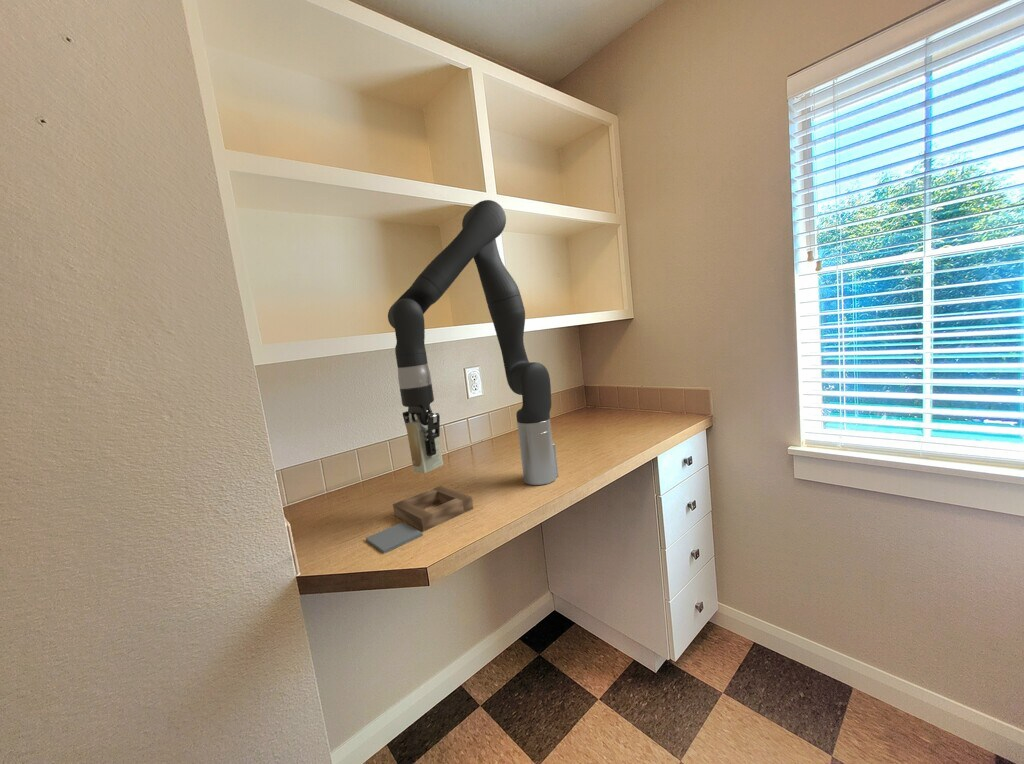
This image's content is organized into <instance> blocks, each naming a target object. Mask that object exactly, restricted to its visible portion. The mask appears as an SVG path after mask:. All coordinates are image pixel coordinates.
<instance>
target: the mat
mask: <svg viewBox="0 0 1024 764" xmlns="http://www.w3.org/2000/svg"><path fill="white" fill-rule="evenodd" d="M423 536H424V533H423V531H421V530H420V529H418V528H416V527H414V526H412V525H410V524H409V523H407V522H405V521H402V522H400V523H397V524H395V525H393V526H391V527H388V528H386V529H383V530H381V531H377V532H376V533H374V534H372V535H368V536H367V537H365V541H366V542H368V543H369V544H371V545H372V546H373V547H374V548H375V549H377V550H379V551H380V552H381V553H382V554H386V553H388V552H390V551H392V550H394V549H397V548H399V547H400V546H403V545H405V544H407V543H410V542H412V541H414V540H415V539H418V538H420V537H423Z"/></svg>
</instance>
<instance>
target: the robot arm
mask: <svg viewBox="0 0 1024 764" xmlns="http://www.w3.org/2000/svg"><path fill="white" fill-rule="evenodd" d="M506 222H507V216H506V212H505V210H504V208H503V206H502V205H500V204H499V203H498V202H497V201H494V200H491V199H485V200H481V201H479V202H478V203H477V202H476V203H475V204H474V205H473V206H472V207H471V208H470V209H468V210H467V212H466V213H465V214H464V216H463V218H462V223H461V224H462V225H461V226H462V229H461V230H460V231H459V233H458V234H457V236H456V237H454V239H452V241H450V243H449V244H448V245H447V246H446V247H445V248H444V249H442V251H440V252H439V253H438V255H436V256H435V257H434V258H433V260H431V261H430V262H429V264H427V266H426V267H425V268H424V269H423V270H422V272H421V273H419V274H418V276H417V277H416V279H415V280H414V281H413V283H411V285H410V287H409V288H408V289H406V291H405V292H404V293H403V294H402V295H400V297H398V299H396V301H395V302H394V303H393V304H392V305H391V307H389V309H388V311H387V320H388V323H389V324H390V326H391V327H392V328H393V329H394V332H395V340H396V344H395V350H394V352H395V359H396V366H397V380H398V385H399V393H400V399H401V405H402V406H403V407H405V408H408V409H407V411H406V410H405V411H404V412H402V417H403V420H404V425H405V426H406V423H409V422H414V421H417V422H418V423H420V426H421V431H422V432H423V434H424V439H425V445H426V452H427V455H428V456H432V455H435V454H436V447H435V438H437V437H439V438H440V427H441V426H440V425H441V421H440V413H439V412H436V413H434V412H433V410H432V408H431V404H432V403H433V402H434V401H435V396H434V390H433V384H432V377H431V371H430V369H429V364H428V356H427V351H426V344H425V338H426V337H425V336H426V335H425V334H426V332H425V329H426V327H425V316H424V315H425V313H426V312H427V311H428V309H430V307H432V305H434V304H435V303H436V302H437V301H439V299H440V298H441V297H442V296H443V295H444V293H446V291H448V289H449V288H450V287H451V285H452V284H453V283H454V282H455V281H456V279H457V278H458V277H459V276H460V274H461V273H462V272H463V270H464V269H465V268H466V266H468V264H469V263H470V262H471V261H472V260H473V261H474V263H475V266H476V268H477V269H476V270H477V272H478V275H479V276H478V277H479V279H480V283H481V286H482V291H483V292H484V298H485V300H486V305H487V307H488V308H487V309H488V311H489V314H490V318H491V321H492V323H493V327H494V331H495V333H496V337H497V341H498V343H499V348H500V351H501V355H502V362H503V367H504V371H505V378H506V381H507V385H508V386H509V388H510V390H511V391H512V392H513V393H514V394H516V395H519V396H520V395H521V396H522V397H521V400H522V407H521V408H520V409H518V410H517V411H516V413H515V414H516V425H517V432H518V443H519V450H520V460H521V467H522V470H521V471H522V477H523V482H524V483H525V484H527V485H531V486H542V485H547V484H550V483H551V484H552V482H554V481H555V480H556V479H557V477H559V470H558V469H559V468H558V460H557V459H558V457H557V451H556V444H555V443H554V442H553V435H552V434H553V433H552V425H551V415H550V414H551V413H550V412H551V410H552V388H551V386H552V385H551V378H550V374H549V370H548V369H547V368H546V366H545V365H544V364H543V363H540V362H533V361H532V362H531V361H529V358H528V356H527V352H526V348H525V343H524V334H525V326H526V325H525V323H526V310H525V309H526V308H525V307H524V306H525V305H524V301H523V298H522V295H521V291H520V289H519V286H518V285H517V283H516V281H515V279H514V277H513V276H512V275H511V273H510V272H509V271H508V270H507V268H506V266H505V265H504V263H503V261H502V258H501V256H500V251H499V249H498V245H497V240H496V239H497V238H498V237H499V236H500V235H501V234H502V233H503V231H504V229H505V227H506ZM422 424H423V425H428V427H426V428H424V427H423V425H422ZM405 428H406V427H405ZM434 429H435V432H434ZM406 430H407V428H406ZM427 430H428V434H427Z"/></svg>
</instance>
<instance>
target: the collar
mask: <svg viewBox="0 0 1024 764" xmlns="http://www.w3.org/2000/svg"><path fill="white" fill-rule="evenodd" d="M439 503H440V504H439ZM435 504H439V505H437V506H435V507H432V508H430V509H428V510H425V509H427V508H429V507H431V506H434V505H435ZM392 509H393V514H394V517H396V518H398V519H400V520H402V522H404V523H406V524H408V525H410V526H411V527H413V528H415V529H417V530H419V531H420V532H426V531H428V530H430V529H432V528H435V527H436V526H438V525H440V524H443V523H445V522H447V521H449V520H452V519H454V518H456V517H458V516H460V515H462V514H464V513H467V512H468V511H471V510H474V504H473V497H472V496H470V495H468V494H465V493H462V492H460V491H457V490H454V489H451V488H449V487H446V486H443V485H439V486H436V487H434V488H431V489H428V490H426V491H423V492H421V493H418V494H416V495H415V494H414V496H410V497H407V498H405V499H403V500H401V501H397V502H396V503H393V504H392Z"/></svg>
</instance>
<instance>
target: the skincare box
mask: <svg viewBox="0 0 1024 764" xmlns="http://www.w3.org/2000/svg"><path fill="white" fill-rule="evenodd" d="M422 425H423V424H422ZM423 427H424V428H426V427H428V425H423ZM405 428H407V429H406V433H407V438H408V439H407V440H408V444H409V451H410V456H411V463H412V468H413V472H416V473H420V474H428V473H429V472H431V471H433V470H436V469H438V468H439V467H442V466H443V465H444V460H443V453H442V448H441V441H440V436H439V437H437V438H435V447H436V454H435V455H432V456H428V455H427V452H426V445H425V439H424V434H423V432H422V431H421V426H420V423H418V422H417V421H414V422H409V423H406V425H405ZM434 432H435V429H434ZM427 434H428V430H427Z"/></svg>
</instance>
